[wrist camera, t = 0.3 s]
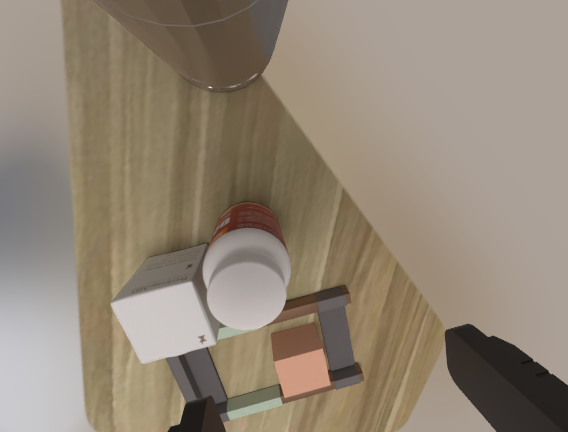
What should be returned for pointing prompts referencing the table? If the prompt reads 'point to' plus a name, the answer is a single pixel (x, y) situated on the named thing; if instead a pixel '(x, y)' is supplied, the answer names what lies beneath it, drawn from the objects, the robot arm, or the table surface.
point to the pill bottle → (246, 268)
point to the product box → (167, 306)
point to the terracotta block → (299, 360)
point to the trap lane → (343, 372)
